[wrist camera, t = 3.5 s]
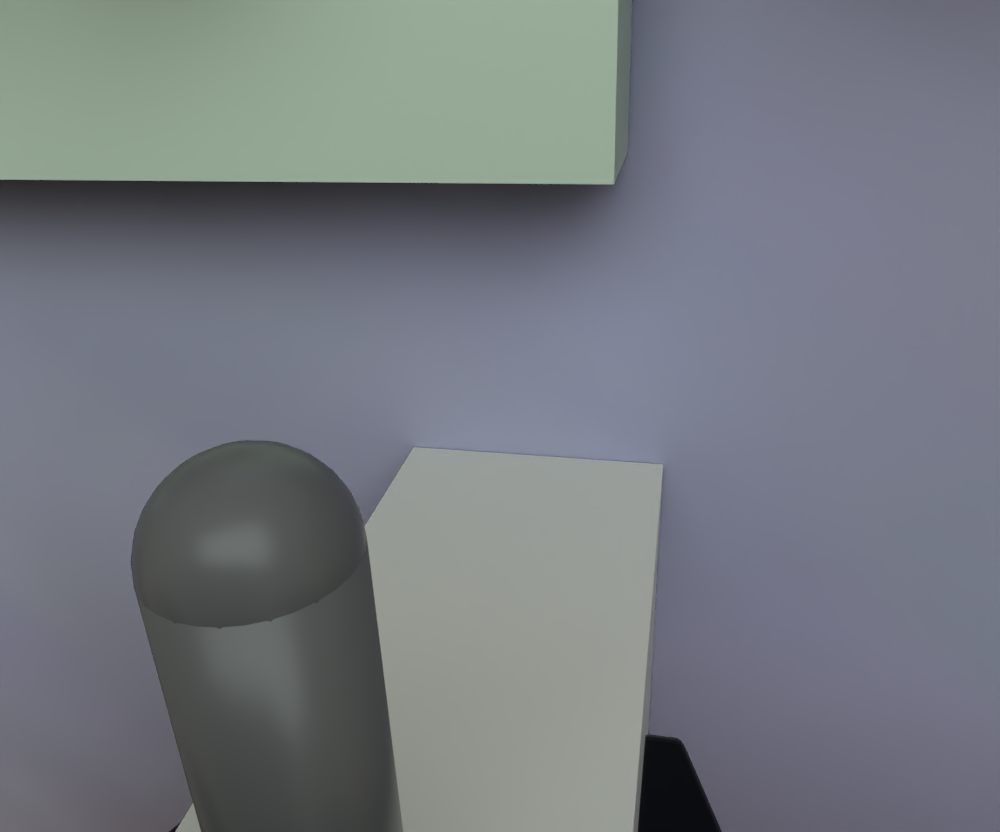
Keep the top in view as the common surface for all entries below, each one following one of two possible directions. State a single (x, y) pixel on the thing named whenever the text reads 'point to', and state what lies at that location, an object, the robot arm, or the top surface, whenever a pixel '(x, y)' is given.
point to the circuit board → (315, 90)
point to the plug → (404, 640)
